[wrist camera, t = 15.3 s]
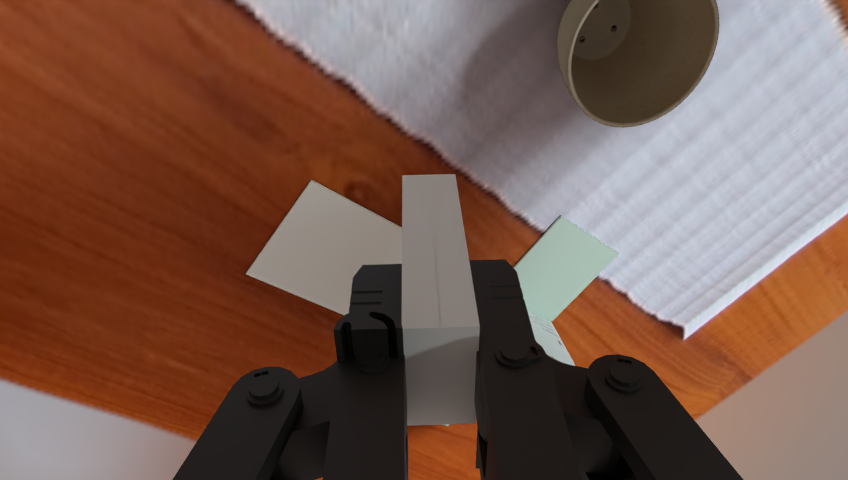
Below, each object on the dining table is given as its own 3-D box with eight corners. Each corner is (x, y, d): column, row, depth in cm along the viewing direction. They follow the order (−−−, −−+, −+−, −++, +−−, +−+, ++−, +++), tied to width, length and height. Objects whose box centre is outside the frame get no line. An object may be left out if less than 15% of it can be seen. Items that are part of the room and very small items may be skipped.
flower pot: (640, 88, 47) (691, 126, 41) (518, 89, 45) (554, 129, 39) (678, -53, 41) (744, -32, 36) (541, -58, 39) (587, -38, 34)
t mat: (200, 338, 52) (199, 340, 52) (371, 93, 43) (371, 94, 43) (447, 424, 65) (447, 426, 65) (618, 252, 56) (619, 253, 56)
